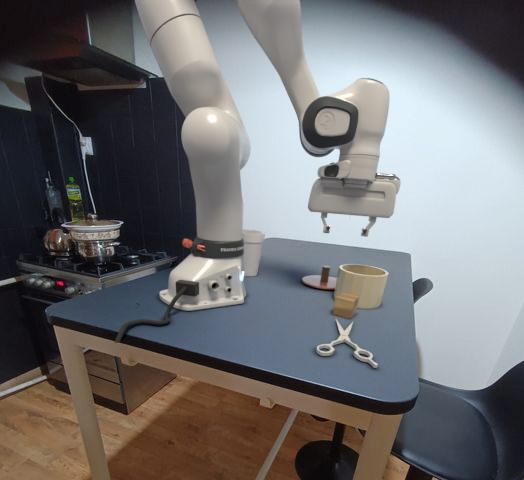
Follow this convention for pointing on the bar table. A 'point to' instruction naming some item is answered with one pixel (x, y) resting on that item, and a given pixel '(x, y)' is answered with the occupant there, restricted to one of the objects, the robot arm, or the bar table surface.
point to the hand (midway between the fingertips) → (344, 234)
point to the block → (345, 305)
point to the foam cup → (252, 251)
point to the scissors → (346, 339)
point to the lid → (321, 279)
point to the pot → (362, 284)
